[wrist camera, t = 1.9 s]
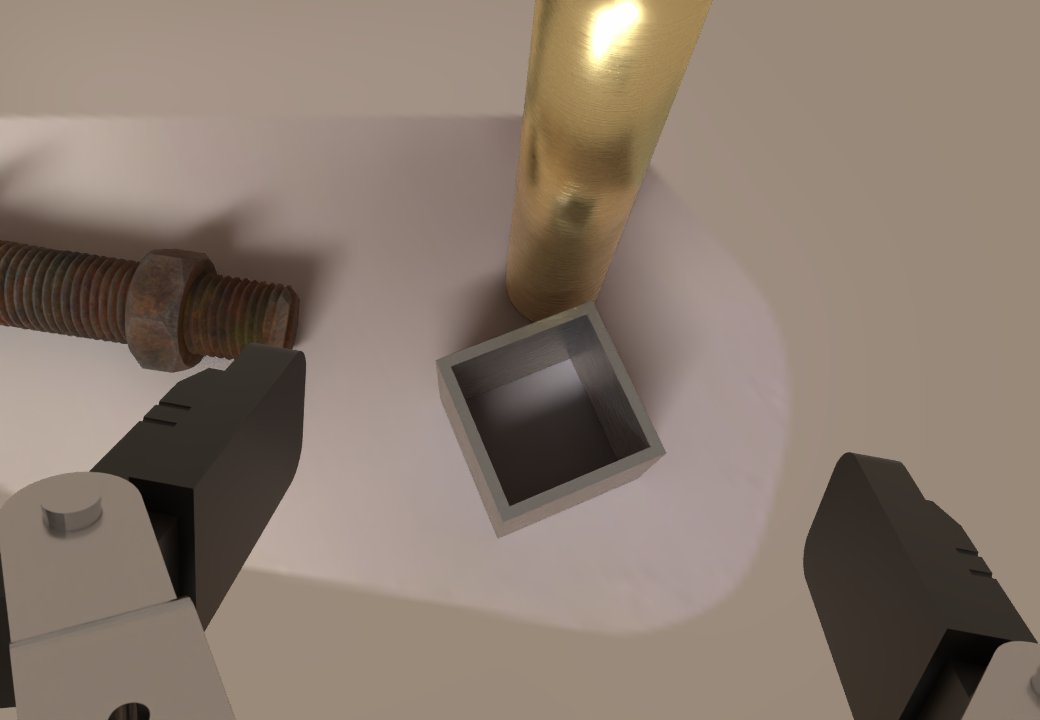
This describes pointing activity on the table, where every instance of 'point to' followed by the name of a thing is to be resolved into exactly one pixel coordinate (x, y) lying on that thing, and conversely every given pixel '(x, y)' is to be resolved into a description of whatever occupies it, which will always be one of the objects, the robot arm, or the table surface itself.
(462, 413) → the open square box
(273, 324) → the bolt
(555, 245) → the tall amber cylinder
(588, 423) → the table surface
